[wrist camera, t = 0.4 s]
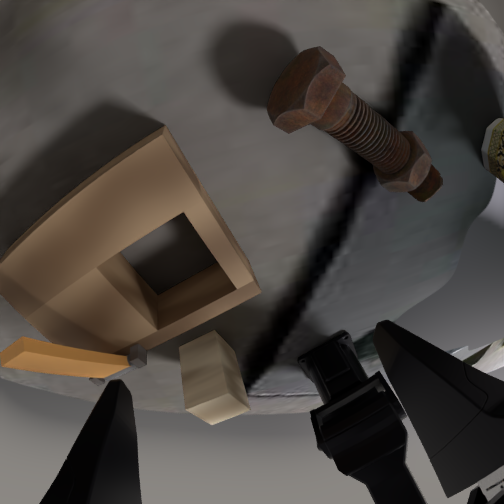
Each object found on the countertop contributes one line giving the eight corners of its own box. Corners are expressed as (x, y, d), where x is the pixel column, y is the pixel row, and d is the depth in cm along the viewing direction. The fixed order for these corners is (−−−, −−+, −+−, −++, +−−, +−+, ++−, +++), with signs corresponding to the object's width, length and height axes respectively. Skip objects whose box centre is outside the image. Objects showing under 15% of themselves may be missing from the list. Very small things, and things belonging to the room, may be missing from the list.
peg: (234, 351, 29) (250, 409, 23) (201, 366, 29) (211, 424, 24) (214, 329, 27) (228, 392, 21) (178, 347, 27) (185, 409, 21)
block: (248, 260, 24) (267, 305, 19) (98, 341, 25) (92, 388, 20) (165, 124, 17) (161, 138, 12) (7, 249, 18) (-21, 291, 13)
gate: (134, 354, 21) (139, 369, 20) (108, 367, 21) (112, 380, 21) (22, 332, 11) (25, 354, 11) (-1, 349, 12) (2, 369, 11)
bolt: (398, 178, 25) (265, 88, 18) (438, 148, 22) (310, 35, 15) (416, 229, 22) (268, 136, 15) (464, 198, 19) (330, 70, 12)
